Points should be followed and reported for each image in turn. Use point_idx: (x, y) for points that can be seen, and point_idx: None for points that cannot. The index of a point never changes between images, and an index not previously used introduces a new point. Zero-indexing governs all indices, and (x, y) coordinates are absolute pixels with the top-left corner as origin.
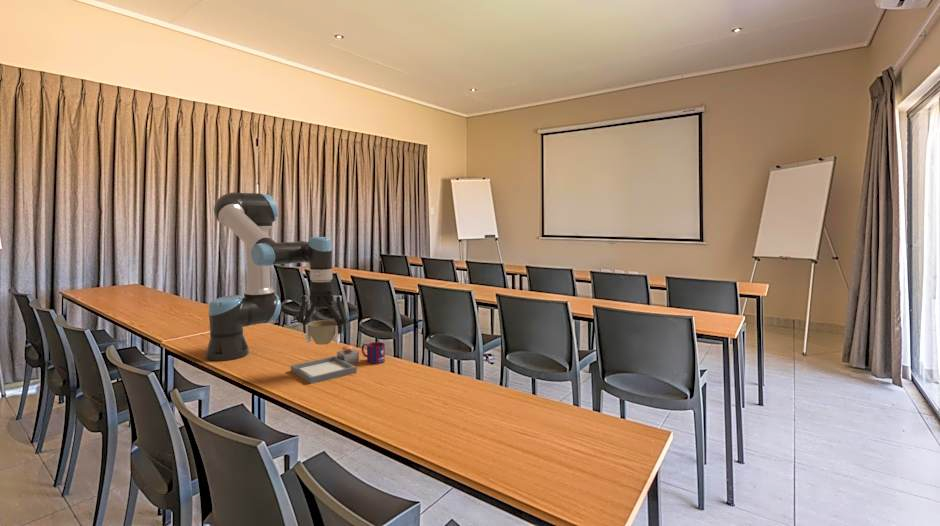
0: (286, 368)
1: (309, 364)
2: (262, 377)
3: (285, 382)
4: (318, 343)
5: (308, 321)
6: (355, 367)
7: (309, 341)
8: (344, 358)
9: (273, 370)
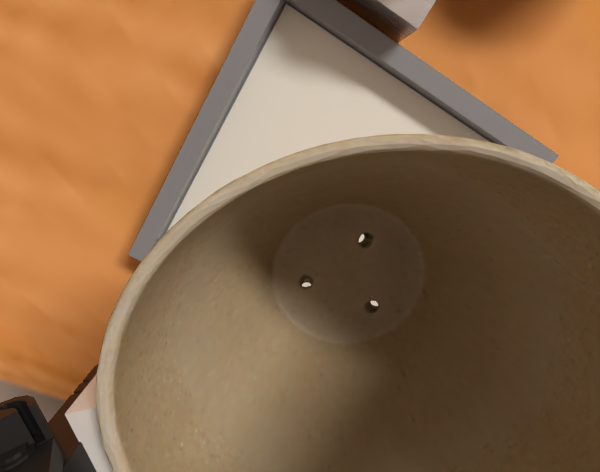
0: (82, 211)
1: (197, 164)
2: (83, 356)
3: None
4: (346, 349)
5: (57, 464)
6: (551, 162)
7: None
8: (410, 33)
9: (44, 260)
